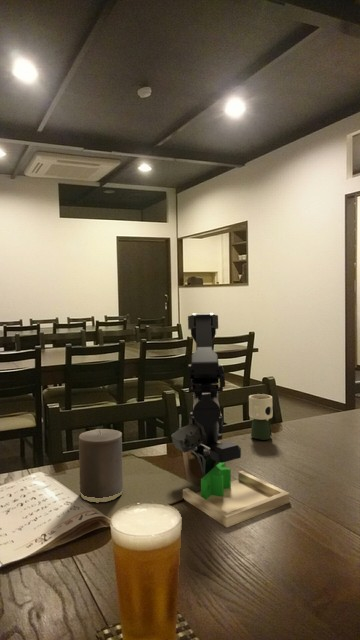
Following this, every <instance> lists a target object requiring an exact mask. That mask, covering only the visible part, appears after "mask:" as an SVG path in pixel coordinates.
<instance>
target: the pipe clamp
mask: <svg viewBox="0 0 360 640" xmlns="http://www.w3.org/2000/svg"><path fill="white" fill-rule="evenodd" d="M231 481H232V468H229V467H226V462H223V463H219V462H218V464H217V463H216V464H215V466H214V468H213V469H212V470H211V471H210V472H208V473H207V474H206V475H205V476H203V477H201V478H200V492H201V497H202V498H204V499H206V500H207V499H208V498H209V496H210V495H216V496H220V497H223V496H224V492H223V489H230V488H231Z"/></svg>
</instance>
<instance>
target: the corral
mask: <svg viewBox="0 0 360 640" xmlns="http://www.w3.org/2000/svg"><path fill="white" fill-rule="evenodd" d="M237 475H238V476H237V477H238V479H235V480H231V488H230V489H223V492H224V496H223V497H220V496H216V495H210V496H209V498H208V499H207V500H206V499H204V498H202V497H201V491H198V492H194V491H193V490H191V489H190V488H188V487H186V488H183V489H182V499H183V498H184V501H186V502H187V503H189V504H191V505H192V506H194V507H196V509H198V510H200V511H201V512H203V513H205V514H206V515H208V516H209V517H210V518H211V519H213V520H215V521H216V522H218V523H219V524H221V525H222V526H223V527H225V528H230V527H232V526H235V525H237V524H239V523H240V524H241V523H242V522H245V521H247V520H249V519H252V518H254V517H257V516H259V515H262V514H265V513H268V512H269V511H270V512H271V510H274V509H277V508H279V507H282V506H284V505H285V506H286V505H287V504H290V502H291V498H290V497H291V494H290V492H288V491H286V490H284V489H281V488H280V487H277V486H276V485H273V484H271V483H269V482H267V481H265V480H263V479H261V478H258V477H256V476H255V475H252V474H250V473H249V472H246V471H243V470H240V471H238V473H237Z"/></svg>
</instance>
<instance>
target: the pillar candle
mask: <svg viewBox="0 0 360 640" xmlns="http://www.w3.org/2000/svg"><path fill="white" fill-rule="evenodd" d="M122 434H123V432H121V431H119V430H115V429H109V428H96V429H92V430H88V431H84V432H81V433H80V434H79V436H78V455H79V456H78V457H79V458H78V459H79V460H78V462H79V463H78V464H79V466H78V467H79V493H80V492H81V493H82V494H83V495H84V496H87V497H95V498H103V497H109V496H113V495H115V494H118V493H120V492H121V491H122V489H123V490H124V479H123V478H124V475H123V469H124V468H123V438H122V436H123V435H122Z"/></svg>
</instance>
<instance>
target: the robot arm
mask: <svg viewBox="0 0 360 640" xmlns="http://www.w3.org/2000/svg"><path fill="white" fill-rule="evenodd" d="M191 314H192V315H191ZM191 314H190V315H188V316H187V330H188V331H190V336H191V338H192V339H193V341H194V343H195V347H196V349H195V352H193V353H192V354H191V363H190V364H188V393H190V394H191V393H193V405H192V411H191V412H190V415H189V416H190V417H189V418H188V424H187V425H185V426H182V427H179V428H177V429H176V430H175V432H173V433H172V434H171V436H170V437H171V440H172V443H173V445H174V448H175V449H176V450H179V451H181V452H182V453H187V452H189V451H190V452H191V453H192V454H194V455H195V457H196V459H197V461H198V463H199V467H200V468H201V469H200V471H201V473H202V475H203V477H204V476H205V475H206V474H207V473H208V472H210V471H211V470H212V469H213V468H214V467H215V466H216V465H217V463H218V464H219V463H223V462H225V463H227V462H230V461H234V460H238V459H241V458H242V447H240V446H239V445H238V444H236V443H233V442H231V441H229V440H226V441H222V442H221V441H220V440H223V434H222V433H223V432H224V416H223V415H222V413H221V408H220V403H219V393H222V392H223V391H224V388H225V387H226V378H225V377H226V376H225V368H224V367H223V364H222V363H219V354H217V353H216V352H215V351H214V349H213V340H214V339H215V336H216V335H217V334H216V333H217V330H219V315H217V314H214V312H196V313H194V312H193V313H191Z"/></svg>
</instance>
